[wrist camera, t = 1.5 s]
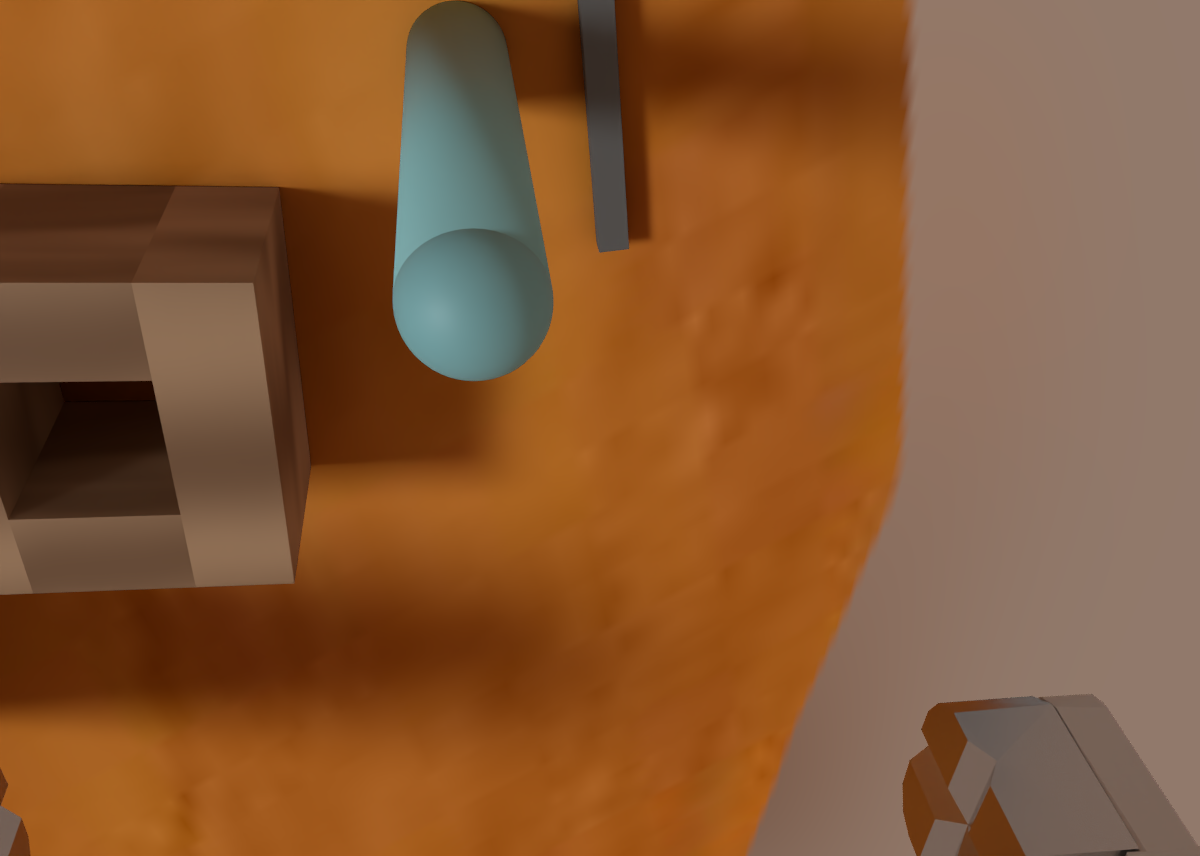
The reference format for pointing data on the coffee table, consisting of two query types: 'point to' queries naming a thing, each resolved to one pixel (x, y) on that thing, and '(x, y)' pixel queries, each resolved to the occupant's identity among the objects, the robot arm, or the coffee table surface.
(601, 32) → the dark grey bar
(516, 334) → the teal capsule
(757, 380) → the coffee table surface
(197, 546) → the block with square hole
